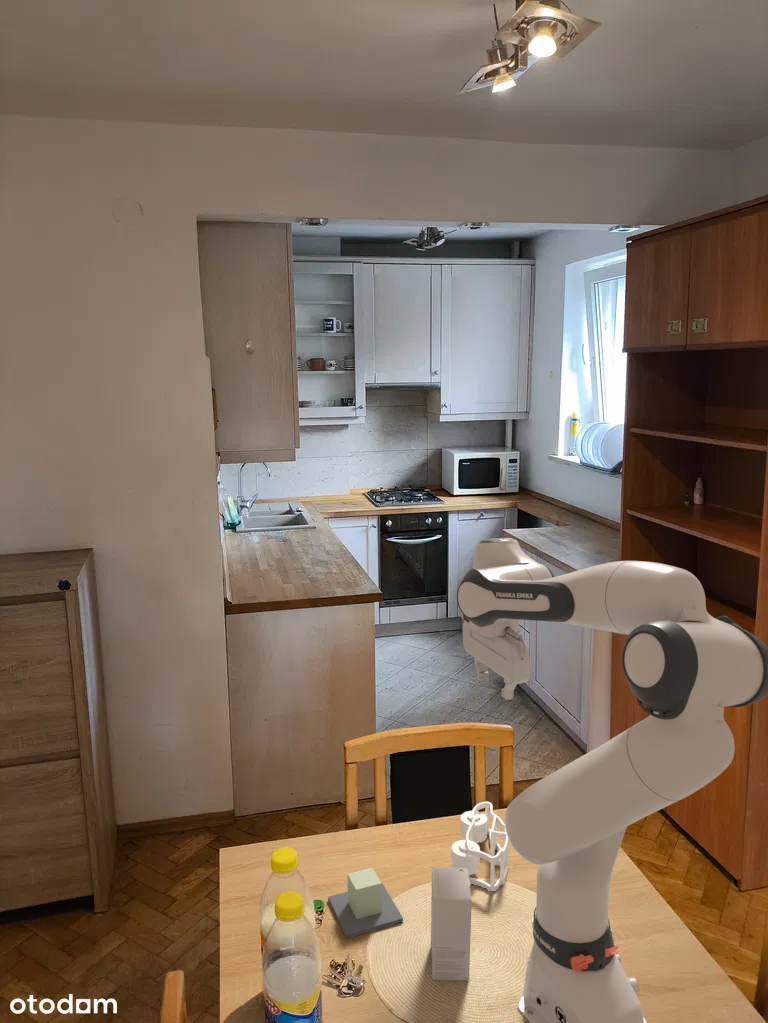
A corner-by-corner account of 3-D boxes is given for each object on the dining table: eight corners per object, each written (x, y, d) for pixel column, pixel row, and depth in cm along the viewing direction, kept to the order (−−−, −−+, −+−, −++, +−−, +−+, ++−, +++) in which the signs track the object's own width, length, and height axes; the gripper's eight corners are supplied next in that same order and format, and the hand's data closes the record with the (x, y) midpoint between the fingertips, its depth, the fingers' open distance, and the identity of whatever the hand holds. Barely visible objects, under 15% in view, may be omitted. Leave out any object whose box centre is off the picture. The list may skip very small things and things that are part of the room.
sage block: (382, 912, 142) (381, 883, 141) (356, 919, 140) (356, 889, 139) (372, 895, 146) (372, 867, 145) (348, 902, 145) (347, 873, 144)
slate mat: (403, 921, 140) (403, 918, 140) (346, 938, 136) (346, 934, 136) (381, 886, 150) (381, 882, 150) (328, 900, 147) (328, 896, 146)
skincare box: (430, 945, 134) (430, 865, 132) (468, 946, 134) (468, 865, 132) (432, 982, 126) (431, 897, 124) (472, 983, 126) (472, 898, 123)
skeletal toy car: (463, 828, 170) (463, 798, 168) (514, 835, 167) (514, 804, 166) (447, 885, 151) (447, 851, 149) (504, 894, 148) (504, 860, 147)
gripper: (539, 634, 137) (538, 706, 139) (484, 604, 156) (484, 668, 158) (509, 639, 135) (508, 712, 137) (457, 608, 154) (457, 673, 156)
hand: (494, 688), depth 148 cm, fingers open, 8 cm apart
